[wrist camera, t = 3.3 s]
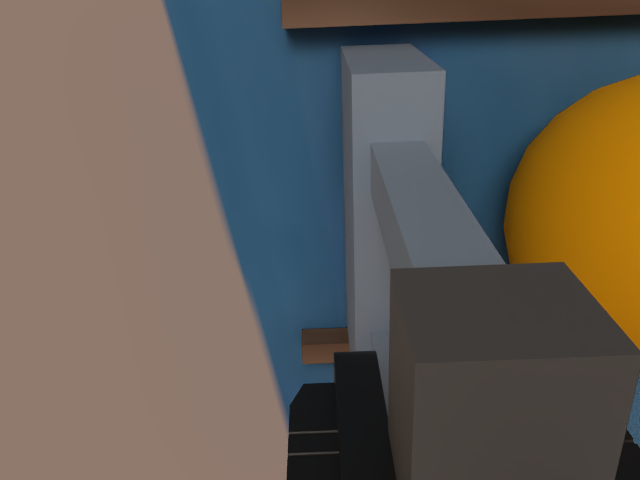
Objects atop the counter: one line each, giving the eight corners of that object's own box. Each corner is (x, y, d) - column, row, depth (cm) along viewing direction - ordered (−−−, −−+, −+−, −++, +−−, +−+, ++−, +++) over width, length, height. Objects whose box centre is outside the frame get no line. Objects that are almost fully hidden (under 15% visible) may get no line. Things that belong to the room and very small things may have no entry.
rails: (282, -5, 17) (280, -3, 16) (882, -29, 17) (915, -29, 16) (302, 347, 22) (302, 364, 21) (765, 329, 22) (784, 345, 21)
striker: (340, 46, 17) (420, 251, 5) (410, 43, 17) (670, 241, 5) (346, 317, 21) (398, 822, 9) (403, 315, 21) (536, 817, 9)
